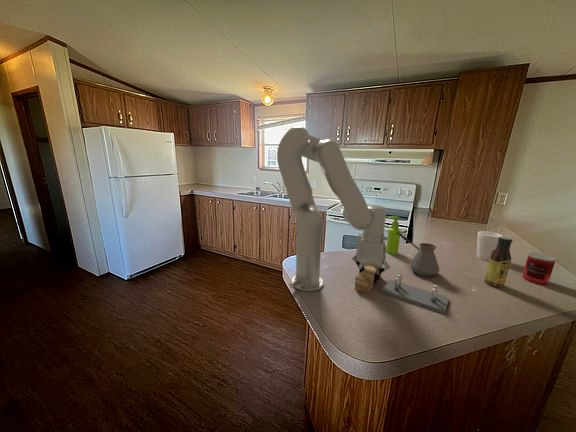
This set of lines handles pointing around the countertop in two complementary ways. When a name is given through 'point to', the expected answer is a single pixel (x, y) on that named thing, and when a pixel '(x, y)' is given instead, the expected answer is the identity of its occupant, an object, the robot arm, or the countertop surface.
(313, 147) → the robot arm
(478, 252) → the foam cup
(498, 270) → the sauce bottle
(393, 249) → the soap dispenser
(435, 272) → the coffee pot
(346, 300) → the countertop surface
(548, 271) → the canned food
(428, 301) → the peg stand
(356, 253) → the energy drink
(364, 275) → the shelf board
